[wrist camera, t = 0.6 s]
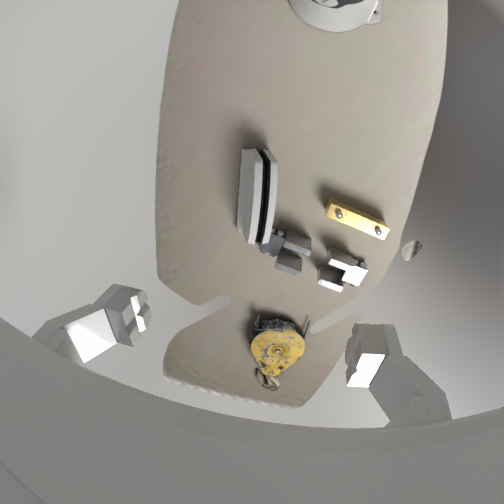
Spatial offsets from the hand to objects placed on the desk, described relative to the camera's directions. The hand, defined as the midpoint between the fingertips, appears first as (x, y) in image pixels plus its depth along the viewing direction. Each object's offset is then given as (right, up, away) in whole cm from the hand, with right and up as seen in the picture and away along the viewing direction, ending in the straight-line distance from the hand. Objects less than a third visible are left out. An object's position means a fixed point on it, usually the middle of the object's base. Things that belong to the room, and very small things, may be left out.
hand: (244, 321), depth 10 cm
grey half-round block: (+2, +14, +41) cm, 43 cm away
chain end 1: (+6, +4, +44) cm, 45 cm away
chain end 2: (+19, -1, +44) cm, 48 cm away
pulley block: (+6, -24, +60) cm, 65 cm away
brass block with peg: (+20, +10, +39) cm, 45 cm away
